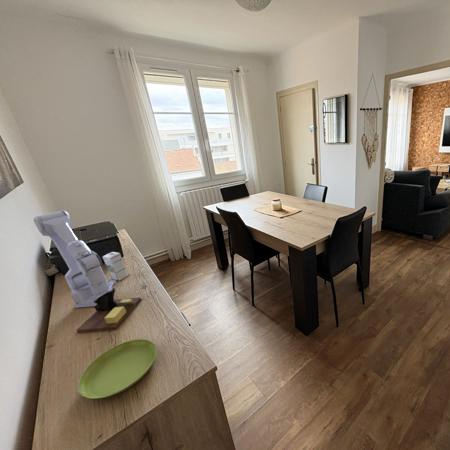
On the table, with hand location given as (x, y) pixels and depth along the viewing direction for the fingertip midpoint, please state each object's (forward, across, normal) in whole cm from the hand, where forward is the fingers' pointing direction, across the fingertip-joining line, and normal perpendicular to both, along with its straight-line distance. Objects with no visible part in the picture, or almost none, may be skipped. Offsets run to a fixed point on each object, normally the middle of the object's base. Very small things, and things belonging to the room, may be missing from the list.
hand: (109, 307), depth 105 cm
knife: (+1, 0, -3) cm, 3 cm away
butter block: (+1, -6, -7) cm, 9 cm away
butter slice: (+1, +1, -7) cm, 7 cm away
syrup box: (+3, +29, +14) cm, 32 cm away
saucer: (+3, -31, -24) cm, 39 cm away
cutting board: (+2, -2, -2) cm, 4 cm away
